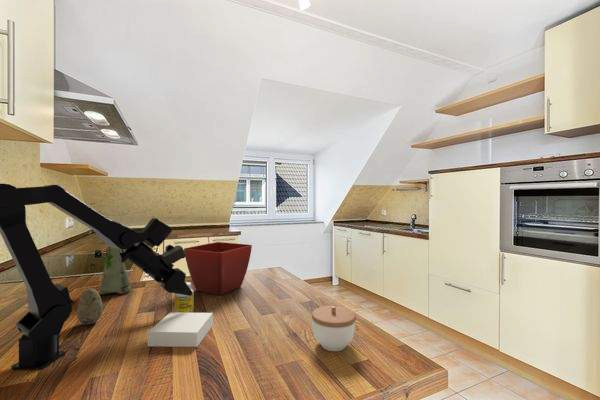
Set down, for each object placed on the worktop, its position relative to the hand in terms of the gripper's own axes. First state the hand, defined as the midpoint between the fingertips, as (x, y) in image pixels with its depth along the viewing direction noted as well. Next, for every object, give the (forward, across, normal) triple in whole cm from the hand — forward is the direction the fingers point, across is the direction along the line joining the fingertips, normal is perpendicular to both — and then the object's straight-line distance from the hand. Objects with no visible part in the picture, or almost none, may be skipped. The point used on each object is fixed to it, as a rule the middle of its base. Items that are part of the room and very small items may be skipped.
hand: (186, 290), depth 89 cm
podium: (+1, -13, +9) cm, 16 cm away
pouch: (-5, +38, +16) cm, 41 cm away
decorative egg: (-11, +10, +22) cm, 27 cm away
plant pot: (+18, +18, -8) cm, 27 cm away
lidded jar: (+21, -41, -10) cm, 47 cm away
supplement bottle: (+5, 0, +6) cm, 8 cm away
